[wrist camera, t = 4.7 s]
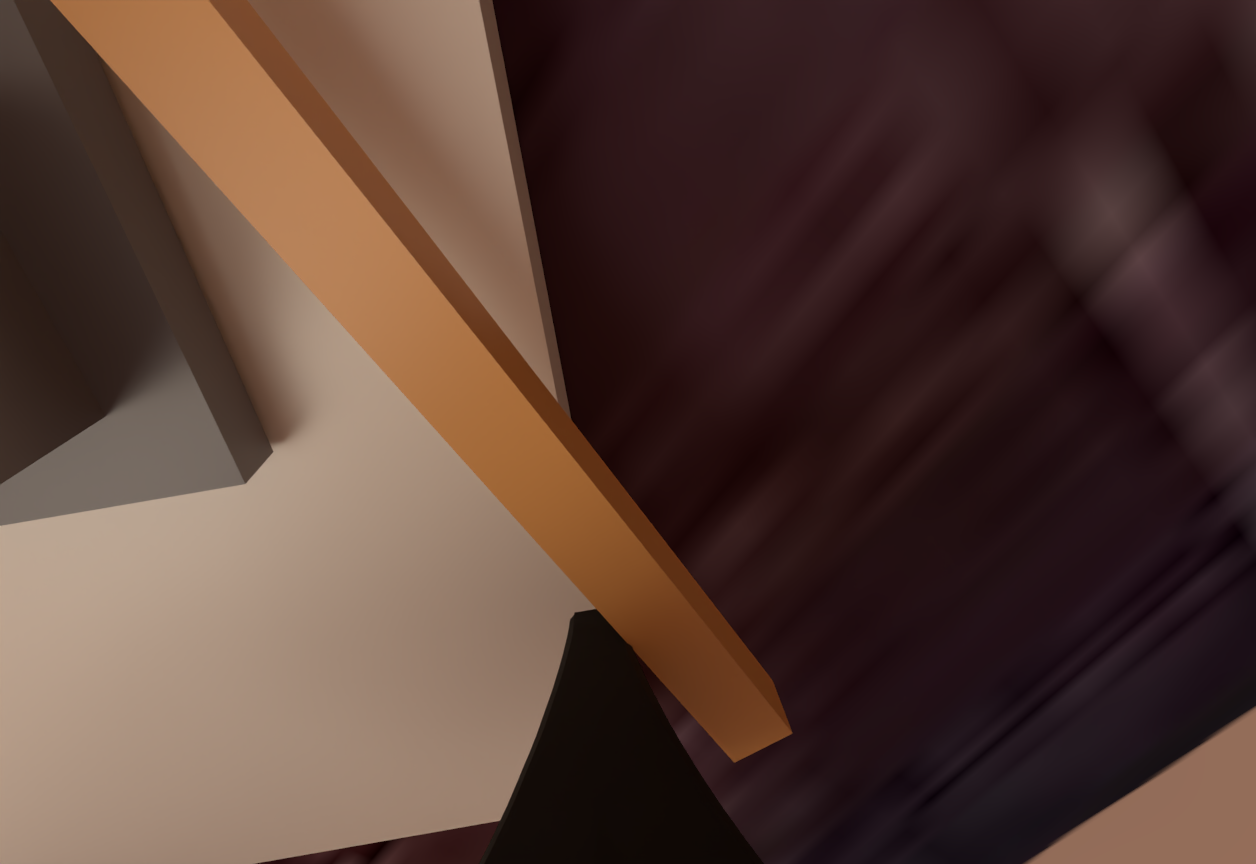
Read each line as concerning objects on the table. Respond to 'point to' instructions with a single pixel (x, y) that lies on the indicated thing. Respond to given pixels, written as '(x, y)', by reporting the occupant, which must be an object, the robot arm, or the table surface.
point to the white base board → (302, 527)
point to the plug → (98, 302)
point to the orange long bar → (425, 332)
